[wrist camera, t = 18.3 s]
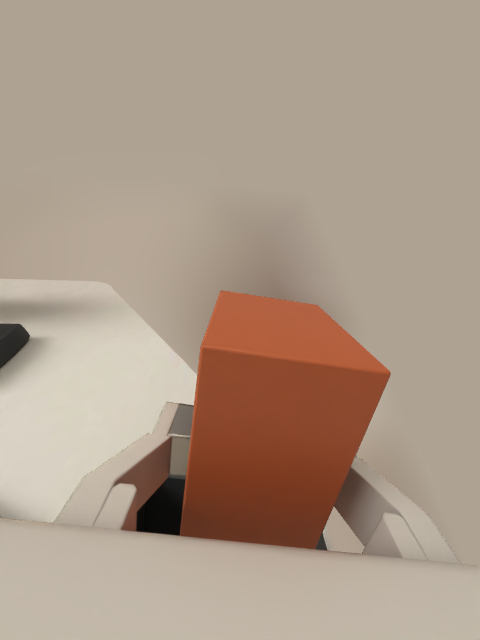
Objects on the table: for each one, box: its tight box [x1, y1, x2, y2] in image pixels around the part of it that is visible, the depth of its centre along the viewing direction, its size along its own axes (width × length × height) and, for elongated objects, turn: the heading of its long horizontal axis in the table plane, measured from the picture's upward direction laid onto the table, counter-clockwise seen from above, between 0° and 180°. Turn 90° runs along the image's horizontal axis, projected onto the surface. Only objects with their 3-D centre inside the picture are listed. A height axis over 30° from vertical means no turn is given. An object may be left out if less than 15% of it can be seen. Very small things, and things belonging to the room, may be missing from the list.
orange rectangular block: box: [180, 291, 390, 549], centre depth 9 cm, size 4×5×11 cm
